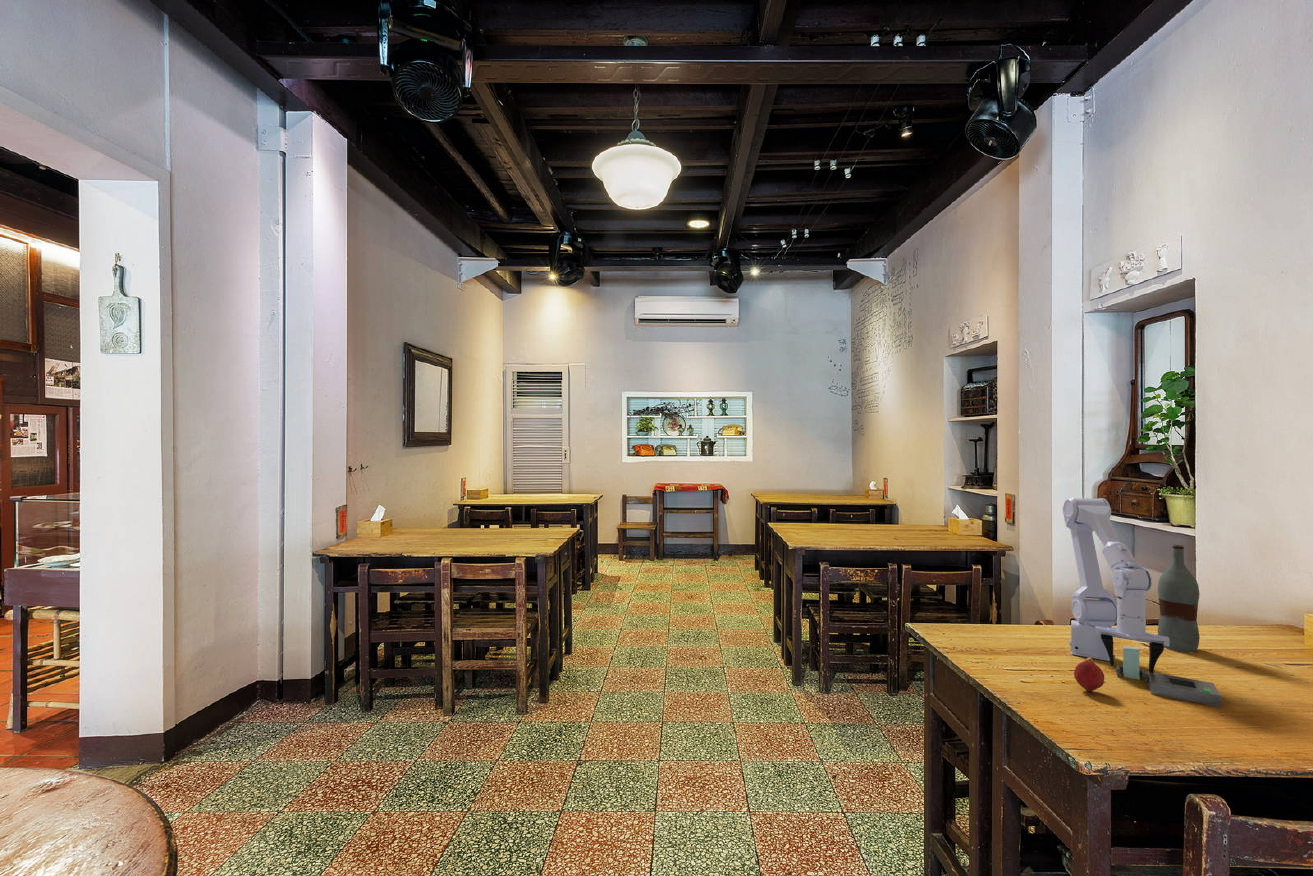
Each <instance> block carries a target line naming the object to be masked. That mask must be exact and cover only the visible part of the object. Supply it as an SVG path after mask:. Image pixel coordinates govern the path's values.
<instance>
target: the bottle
mask: <svg viewBox="0 0 1313 876" xmlns="http://www.w3.org/2000/svg"><path fill="white" fill-rule="evenodd" d="M1171 546H1172V550H1171V552H1172V554H1171V555H1172V556H1171V557H1172V560H1171V564H1170V565H1169V566H1168V567H1167V568H1166V569H1165V570H1164V571H1163V573H1162V574H1161V575H1160V576H1159V578H1158V583H1157V594H1158V595H1157V596H1158V604H1159V605H1158V606H1159V614H1160V615H1159V620H1158V623H1157V624H1158V626H1157V635H1160V636H1165V637H1168V638H1169V647H1168V646H1164V645H1163V647H1164V649H1167V650H1171V651H1174V650H1175V652H1179V651H1181V652H1182V653H1188V652H1193V653H1197V651H1198V648H1199V644H1200V638H1201V637H1200V631H1199V625H1198V620H1197V619H1198V610H1199V600H1200V595H1201V594H1200V589H1199V583H1198V580H1197V579H1196V578H1195V576H1194V575H1193V574H1192V573H1191V571H1190V570H1189V568H1188V567H1187V566H1186V565H1185V546H1184V545H1182V544H1172V545H1171ZM1181 652H1180V653H1181Z"/></svg>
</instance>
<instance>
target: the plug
mask: <svg viewBox="0 0 1313 876" xmlns="http://www.w3.org/2000/svg"><path fill="white" fill-rule="evenodd" d="M1122 647H1123V649H1122V651H1123V652H1122V653H1123V654H1122V656H1123V657H1122V659H1123V661H1122V664H1123V665H1122V667H1123V672H1122V673H1123V677H1124V678H1129V679H1135V680H1140V675H1139V670H1140V649H1139V648H1138V647H1133V646H1132V647H1131V646H1124V645H1123V646H1122Z"/></svg>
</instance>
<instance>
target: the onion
mask: <svg viewBox="0 0 1313 876" xmlns="http://www.w3.org/2000/svg"><path fill="white" fill-rule="evenodd" d="M1073 676H1074V679H1075V681H1076V683H1077V684H1078V685H1079V686H1080V687H1081V688H1082V689H1084V690H1086V691H1087V692H1090V693H1091V692H1094V691H1096V690H1098V689H1100V688H1102V686H1103V685H1104V683H1105V674H1104V672H1103V669H1101V668H1100V666H1098V665H1097V663H1095V662H1094V658H1090V657H1086V659H1085V660H1083V661H1081V662H1079V663H1078V664H1077V665H1076V666H1075V669H1074V671H1073Z"/></svg>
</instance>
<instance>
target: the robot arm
mask: <svg viewBox="0 0 1313 876" xmlns="http://www.w3.org/2000/svg"><path fill="white" fill-rule="evenodd" d="M1062 514H1063V519H1064V522H1065V527H1066V528H1068V529H1069V530H1070V535H1071V541H1072V546H1073V551H1074V556H1075V563H1076V568H1077V573H1078V579H1079V584H1080V588H1079V589H1077V590H1076V591H1074V592H1073V593H1072V594H1071V613H1072V615H1073V617H1074V618H1075V619H1074V620H1073V619H1072V620H1070V621H1071V622H1070V623H1071V624H1070V628H1071V629H1070V634H1071V635H1070V637H1071V638H1070V639H1069V647H1071V648H1070V649H1071V650H1070V654H1071V655H1073V656H1080V657H1085V658H1092V659H1096V660H1101V661H1108V662H1109V663H1110V666H1111V667H1115V657H1114V638H1115V639H1116V638H1117V639H1123V640H1130V641H1135V642H1143V643H1148V647H1149V659H1148V671H1149V672H1155V671H1154V670H1155V667H1156V665H1157V662H1158V660H1159V658H1160V657H1161V655H1162V654H1163V652H1164V650H1165V648H1164V647H1163V645H1164V646H1168V647H1169V638H1168V637H1165V636H1160V635H1158V634H1154V633H1151V632H1150V633H1149V632H1147V621H1146V620H1147V615H1146V613H1147V603H1146V602H1147V598H1146V597H1147V595H1146V594H1147V592H1148V591H1149V590H1150V589H1151V587H1152V584H1153V579H1152V576H1151V573H1150V572H1149V570H1148V569H1147V568H1145V567H1143V566H1142V564H1139V563H1137V560H1136V559H1135V557H1134V555H1133V554H1132V551H1131V550H1130V548H1129V547H1128V545H1127V544H1125V543H1122V542H1120V540H1119V537H1118V535H1117V533H1116V530H1115V528H1114V526H1113V524H1112V522H1111V514H1112V508H1111V505H1110V502H1108V500H1107V499H1106V498H1103V497H1099V498H1091V497H1090V498H1084V497H1067V498H1066V499H1065V501H1064V503H1063V506H1062ZM1094 532H1095V534H1096V536H1097V537H1098V538H1099V540H1100V541H1101V543H1102V544H1103V546H1104V547H1103V548H1102V552H1101V553H1102V555H1103V556H1104V559H1105V560H1106V562H1107V564H1108V566H1109V568H1110V569H1111V571H1112V574H1111V576H1110V577H1111V578H1110V579H1111V583H1112V585H1113V591H1114V594H1113V593H1111V592H1110V591H1109V590H1107V589H1105V588H1104V586H1103V581H1102V576H1101V571H1100V565H1099V560H1098V555H1097V551H1096V546H1095V541H1094V540H1095V539H1094V535H1093V533H1094ZM1115 596H1116V597H1115ZM1115 598H1116V599H1115ZM1115 624H1116V627H1115Z"/></svg>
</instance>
